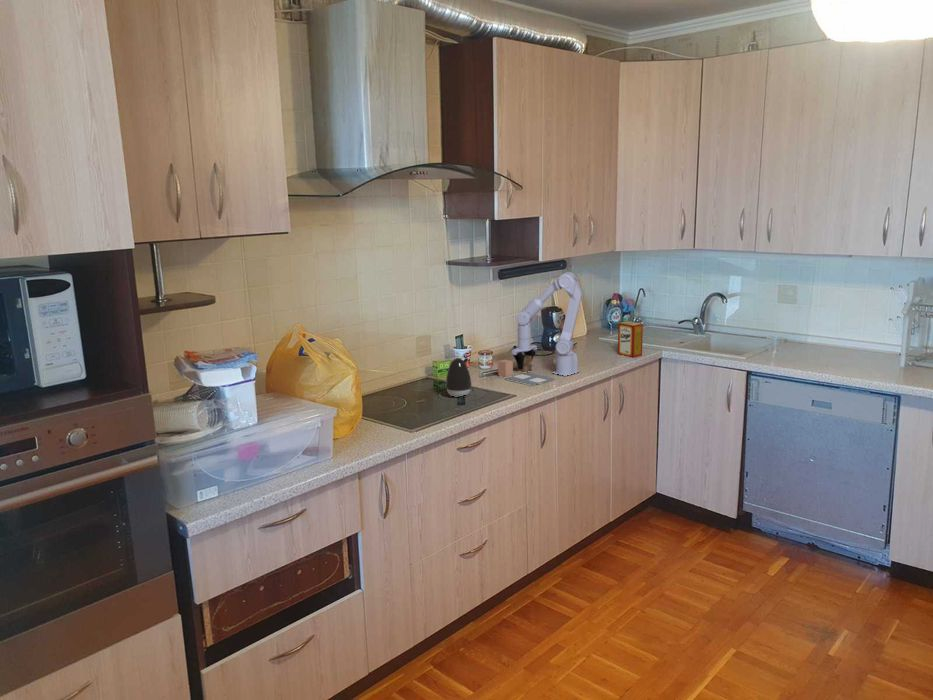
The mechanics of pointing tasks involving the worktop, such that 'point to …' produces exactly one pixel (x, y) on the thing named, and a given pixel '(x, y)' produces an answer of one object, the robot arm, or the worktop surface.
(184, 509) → the worktop surface
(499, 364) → the terracotta pillar
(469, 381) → the black egg-shaped speaker
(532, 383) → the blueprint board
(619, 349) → the baking soda box
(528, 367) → the walnut pillar
